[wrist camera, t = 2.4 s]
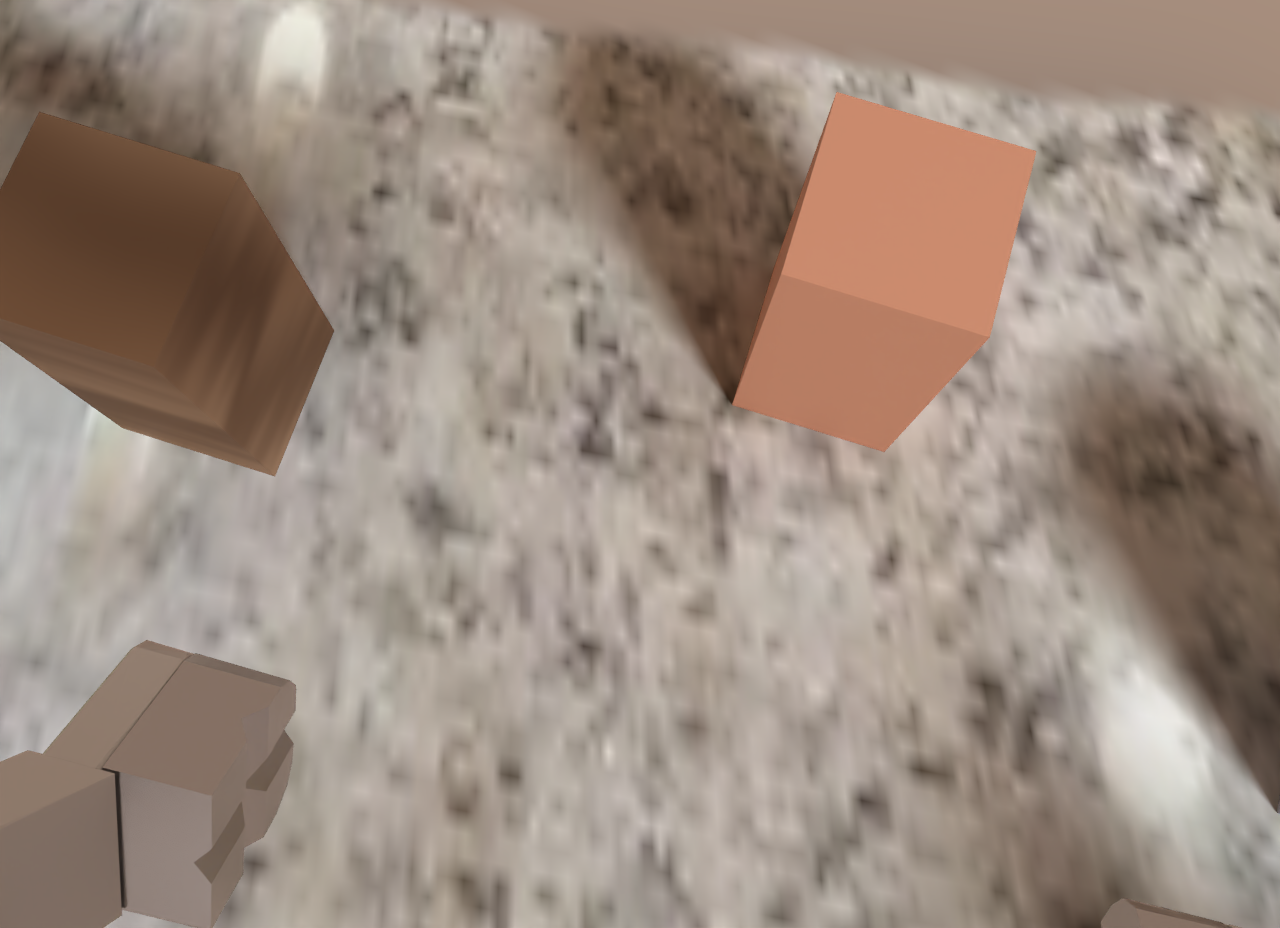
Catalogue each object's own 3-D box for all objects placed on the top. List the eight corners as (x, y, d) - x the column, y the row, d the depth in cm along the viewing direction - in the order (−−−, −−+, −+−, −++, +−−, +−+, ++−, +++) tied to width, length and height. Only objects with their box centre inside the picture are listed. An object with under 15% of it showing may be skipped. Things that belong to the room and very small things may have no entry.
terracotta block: (883, 452, 32) (989, 337, 24) (732, 404, 33) (781, 274, 24) (922, 310, 34) (1036, 151, 25) (774, 265, 34) (836, 92, 25)
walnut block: (275, 476, 32) (153, 366, 23) (122, 427, 32) (-56, 300, 23) (334, 330, 33) (239, 173, 24) (186, 284, 33) (39, 111, 24)
